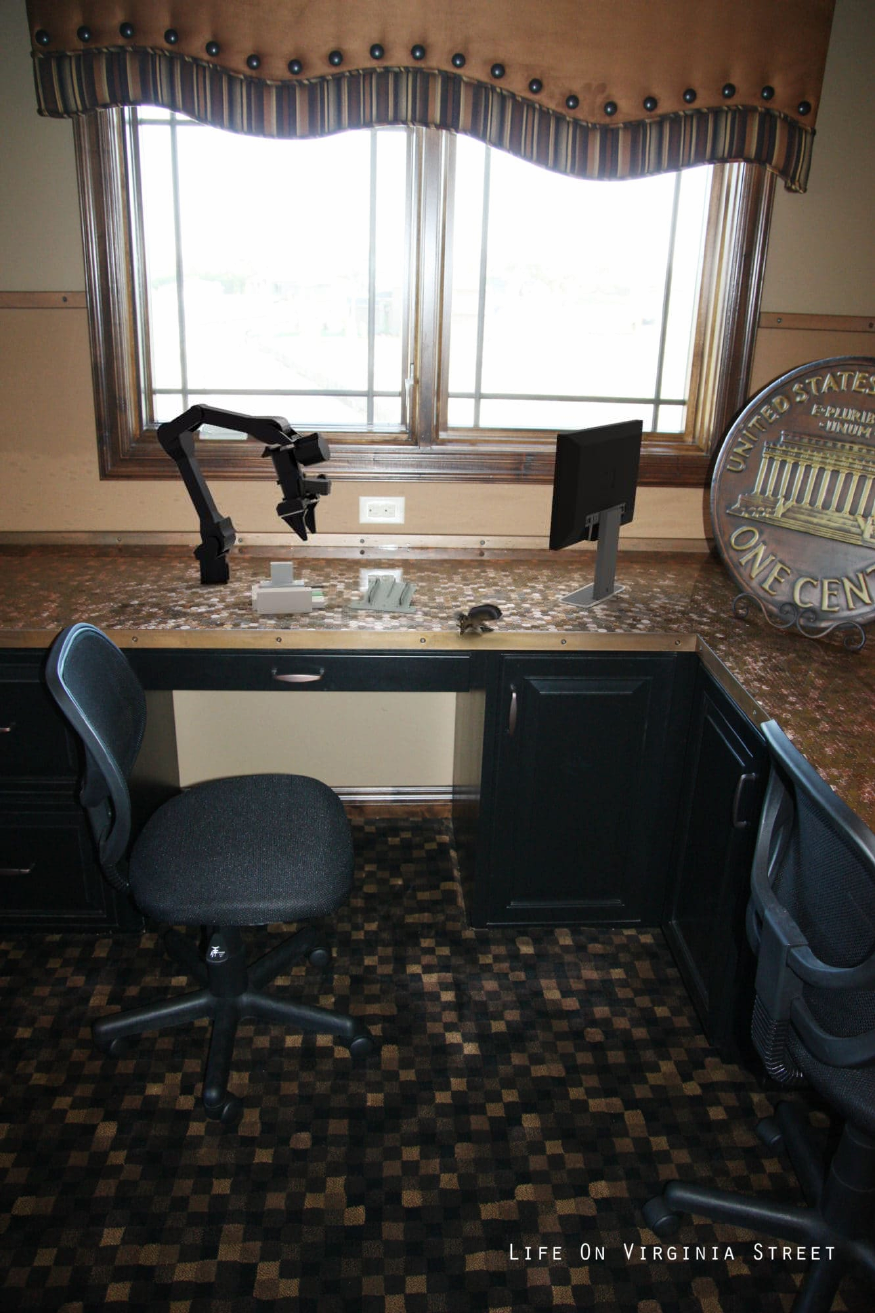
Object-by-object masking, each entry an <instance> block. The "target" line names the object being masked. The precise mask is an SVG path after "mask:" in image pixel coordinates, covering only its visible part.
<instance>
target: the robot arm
mask: <svg viewBox="0 0 875 1313" xmlns="http://www.w3.org/2000/svg"><path fill="white" fill-rule="evenodd" d="M204 424H205V425H209V426H213V427H217V428H222V429H227V430H231V431H235V432H239V433H244V434H246V435H249V436H250V437H252V438H253V439H255V440H257V441H259V442H262V443H263V444H266V446H264V450H263V452H262V453H261V455H260V458H262V459H265V458H268V457H270V459H271V462H272V465H273V468H274V471H275V474H276V477H277V480H276V484H277V486H280V489H281V492H282V495H283V496H282V498H281V500H282V501H280V502H279V503H278V504H277V506H275V511H276V513H277V517H280V519H281V520H283V521H284V522H285V523H286V524H287V525H288V526H289V528H291V530H293V531H294V533H295V534H296V535H297V536H298V537H299V538H300V539H301V541H303V542H306V541H308V540H309V539H308V538H309V537H308V532H307V529H308V531H309V533H311V534H312V535H314V534H316V533H317V520H316V508H317V506H318V505H319V503H320V499H321V496H322V497H323V496H324V497H325V496H329V495H330V494H331V493H332V492H331V487H332V485H333V484H332V479H331V478H329V477H328V475H327V474H326V473H319V474H318V475H317V477H308V475H307V473H306V472H304V471H303V470H302V468H301V465H302V466H303V467H305V468H307V467H312V466H315V465H318V464H322V463H325V462H329V461H330V460H331V450H330V446H329V443H327V440H326V439H325V438H324V437H323V436H322V434H321V431H315V432H313V433H310V434H309V435H306V436H303V435H302V434H301V433H299V432H298V431H297V430H295V429H294V428H293V427H292V426H291V423H290V422H289V420H288V419H287V418H286V417H284V416H279V415H250V414H247V413H246V414H245V413H242V412H236V411H234V410H228V409H224V408H219V407H215V406H210V405H208V404H206V403H198V404H193V405H191V407H189V408H188V409H187V410H186V411H184V412H182V413H181V414H180V415H178V416H176V417H175V418H173V419H171V421H166V422H162V423H161V424H160V425H159V426H158V427H157V430H156V431H155V437H156V439H157V442H158V443H159V444H160V447H161V448H162V450H163V451H164V452H165V454H166V455H167V456H169V459H172V460H173V462H174V463H175V465H176V467H177V469H178V472H179V474H180V477H181V479H182V481H183V484H184V486H185V489H186V491H187V492H188V495H189V499H190V500H191V503H192V504H193V507H194V509H195V512H196V514H197V516H198V518H199V535H200V540H201V543H200V544H199V545H198V546H197V548H196V549H194V550H193V551H192V552H193V555H194V557H195V560H196V561H199V573H200V574H199V576H200V581H199V585H200V586H201V585H202V586H206V585H227V584H228V583H229V582H228V581H229V580H230V577H231V576H230V561H229V560H227V555H228V554H229V553H230V550H231V548H233V546H234V545H235V543H236V540H237V536H236V533H237V532H238V530H237V529H236V528H235V527H234V525H233V521H232V518H231V517H230V516H227V517H224V516H223V515H222V514H221V513H220V512H219V510H218V508H217V507H218V506H216V504H215V501H214V498H213V495H212V494H211V491H210V488H209V486H208V484H207V481H206V479H205V477H204V474H203V472H202V470H201V467H200V465H199V462H198V460H197V458H196V455H195V453H196V452H195V439H194V438H195V437H194V433H195V432H197V431H198V430H199V429H200V428H201V427H202V426H203V425H204ZM271 445H272V446H271ZM273 445H278V446H274V447H273ZM290 445H293V446H291V447H287V446H290ZM314 500H315V501H314Z"/></svg>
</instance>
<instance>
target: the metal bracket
mask: <svg viewBox="0 0 875 1313" xmlns="http://www.w3.org/2000/svg"><path fill="white" fill-rule="evenodd" d="M417 587H418V584H417V583H411V580H410V579H406V580H405V582H398V581H397V582H396V577H393V580H392V581H385V580H384V581H383V580H380V577H375V580H371V581H370V583H369V585H368V587H367V589H366V592H365V594H364V596H363V598H362V600H361V601H358V600H356V601H355V600H354V601H352V602H351V604H350V606H349V609H350V610H358V611H371V610H372V611H373V610H374V612H382V611H383V613H393V612H399V613H398V614H401V613H402V614H403V615H411V614H412V615H415V614H416V612H417V609H418V607H417V606H416V605H411V603H412V599H413V597H414V595H415V592H416V589H417Z"/></svg>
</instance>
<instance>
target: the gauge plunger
mask: <svg viewBox="0 0 875 1313" xmlns="http://www.w3.org/2000/svg"><path fill="white" fill-rule="evenodd" d="M259 583H260V588H293V587H311V589H317V588H321V589H324V588H325V587H324V586H325V585H324V584H319V585H318V584H317V585H305V580H304V579H295V580H294V563H293V561H271V562H270V580H261V581H260V582H259Z"/></svg>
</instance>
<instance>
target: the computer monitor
mask: <svg viewBox="0 0 875 1313" xmlns="http://www.w3.org/2000/svg"><path fill="white" fill-rule="evenodd" d="M643 429H644V420H643V419H638V418H637V419H632V420H626V421H619V422H614V423H609V424H603V425H597V426H593V427H588V428H582V429H577V430H570V431H564V432H558V433H557V434H556V444H555V445H556V446H555V459H554V460H555V461H554V471H553V472H554V473H553V485H552V498H551V499H552V500H551V515H550V526H549V527H550V528H549V542H548V550H549V551H553V552H554V551H555V552H558V551H560V550H564V549H565V548H569V547H571V546H573V545H575V544H578V543H581V542H584V541H586V542H588V543H590V542H591V543H592V542H597V544H596V552H595V553H596V554H595V555H596V556H595V564H594V565H595V566H594V576H593V582H591V583H590V584H588V585H585V586H583V587H582V588H578V589H577V590H575V591H572V592H570V593H568V594H566V595H564V596H561V597H560V598H558V602H559V603H560V604H563V603H564V604H563V605H567V604H570V605H569V606H572V605H573V607H576V606H579V607H578V608H581V607H582V608H584V609H589V607H590V608H592V606H593V607H594V605H595V606H596V604H597V605H598V604H600V603H602V602H604V601H606V600H608V599H609V598H612V597H614V596H616V595H618V594H619V593H622V592H624V591H625V590H626V587H625V586H624V585H622V584H615V582H616V581H615V580H616V569H617V561H618V560H617V559H618V552H619V550H618V548H619V539H620V530H621V527H622V526H625V525H627V524H630V523H632V522H633V520H634V516H635V514H634V513H635V506H636V496H637V486H638V480H639V478H638V477H639V469H640V458H641V449H642V440H643V432H644V431H643ZM621 591H622V592H621ZM617 593H618V594H617ZM613 595H614V596H613ZM582 608H581V609H582Z"/></svg>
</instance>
